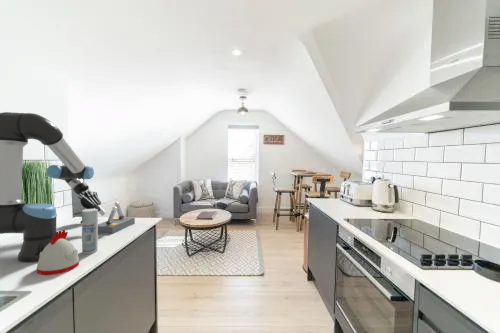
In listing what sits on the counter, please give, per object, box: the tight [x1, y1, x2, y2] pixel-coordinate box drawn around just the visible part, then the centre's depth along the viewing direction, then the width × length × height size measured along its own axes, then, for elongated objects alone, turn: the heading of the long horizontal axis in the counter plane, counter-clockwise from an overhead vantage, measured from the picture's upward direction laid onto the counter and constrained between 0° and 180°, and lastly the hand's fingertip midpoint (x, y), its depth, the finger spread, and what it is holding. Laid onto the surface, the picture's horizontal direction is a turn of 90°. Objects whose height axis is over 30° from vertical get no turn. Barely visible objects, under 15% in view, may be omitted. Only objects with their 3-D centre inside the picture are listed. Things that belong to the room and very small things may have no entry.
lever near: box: [105, 206, 117, 225], centre depth 157 cm, size 3×3×12 cm
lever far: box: [114, 201, 125, 219], centre depth 172 cm, size 3×3×12 cm
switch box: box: [98, 216, 136, 235], centre depth 165 cm, size 24×12×4 cm, turn 175°
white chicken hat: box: [36, 229, 80, 276], centre depth 106 cm, size 14×14×15 cm
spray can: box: [81, 208, 99, 255], centre depth 123 cm, size 6×6×20 cm
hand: (104, 214), depth 157 cm, fingers closed
